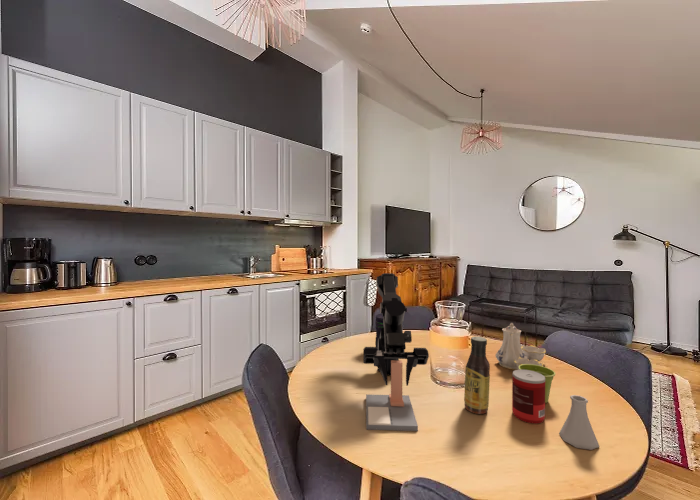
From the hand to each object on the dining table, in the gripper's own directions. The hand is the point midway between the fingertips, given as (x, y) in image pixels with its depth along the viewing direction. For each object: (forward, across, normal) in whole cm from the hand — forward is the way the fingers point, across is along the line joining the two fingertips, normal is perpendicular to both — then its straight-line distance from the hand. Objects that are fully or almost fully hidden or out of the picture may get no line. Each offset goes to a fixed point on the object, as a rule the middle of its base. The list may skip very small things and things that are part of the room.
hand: (397, 384), depth 89 cm
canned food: (+6, +34, +3) cm, 35 cm away
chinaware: (-18, +49, +28) cm, 60 cm away
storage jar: (-30, +1, +40) cm, 50 cm away
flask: (+14, +41, -4) cm, 43 cm away
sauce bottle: (+4, +22, +5) cm, 23 cm away
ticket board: (+6, -2, +3) cm, 7 cm away
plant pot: (-1, +42, +10) cm, 43 cm away
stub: (+3, 0, +5) cm, 5 cm away
